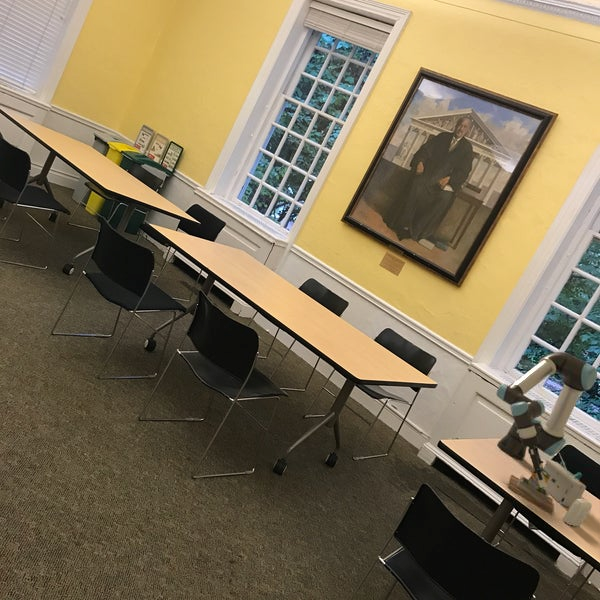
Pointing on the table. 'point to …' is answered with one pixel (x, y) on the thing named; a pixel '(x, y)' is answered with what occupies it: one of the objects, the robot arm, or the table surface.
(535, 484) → the crayon box
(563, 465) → the teal l-shaped bracket
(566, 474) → the stereo radio cassette player
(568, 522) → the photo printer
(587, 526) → the table surface
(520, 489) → the walnut crayon stand
